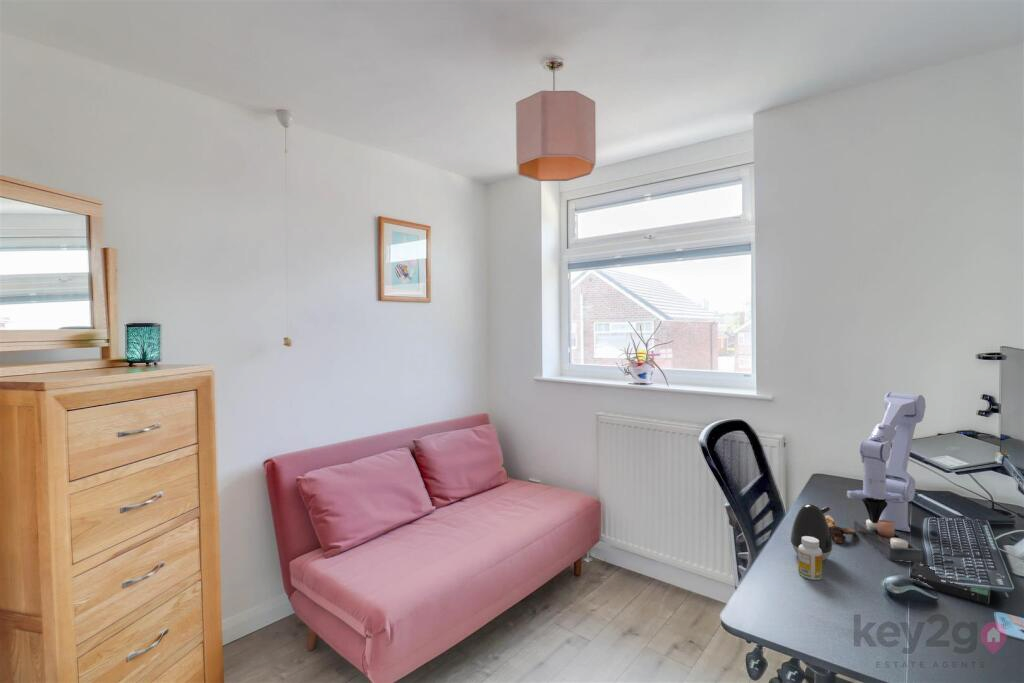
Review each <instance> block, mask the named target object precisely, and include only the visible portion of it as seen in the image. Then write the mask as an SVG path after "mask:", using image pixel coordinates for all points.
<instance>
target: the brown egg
mask: <svg viewBox="0 0 1024 683" xmlns="http://www.w3.org/2000/svg"><path fill="white" fill-rule="evenodd" d="M894 530H895V531H896V529H895V524H894V523H893V522H891V521H887V520H878V535H879V536H881V537H892V538H894Z"/></svg>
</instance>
